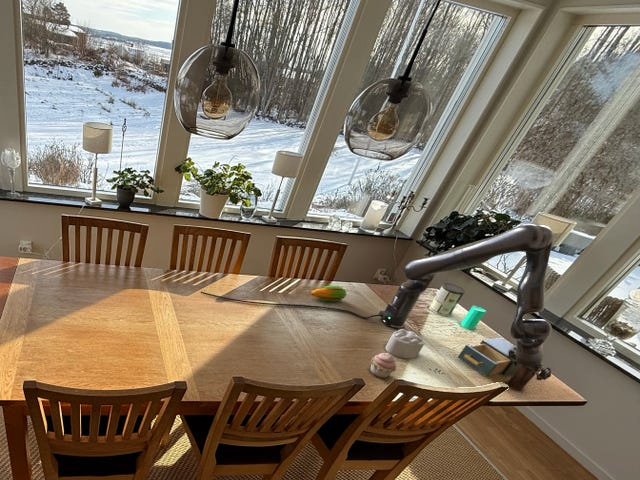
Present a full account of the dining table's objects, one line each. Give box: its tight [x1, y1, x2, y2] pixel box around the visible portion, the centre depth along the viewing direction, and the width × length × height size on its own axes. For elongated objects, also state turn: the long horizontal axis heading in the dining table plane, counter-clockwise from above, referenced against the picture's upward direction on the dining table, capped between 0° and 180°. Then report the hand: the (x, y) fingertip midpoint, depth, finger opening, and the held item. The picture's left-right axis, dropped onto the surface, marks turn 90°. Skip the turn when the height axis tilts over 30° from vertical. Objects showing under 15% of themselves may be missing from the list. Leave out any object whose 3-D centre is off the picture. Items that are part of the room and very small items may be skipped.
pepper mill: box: [506, 362, 543, 392], centre depth 158 cm, size 5×5×14 cm
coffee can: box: [428, 282, 466, 317], centre depth 207 cm, size 10×10×14 cm
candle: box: [460, 305, 487, 331], centre depth 197 cm, size 6×6×12 cm
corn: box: [310, 285, 347, 302], centre depth 203 cm, size 7×8×20 cm
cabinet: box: [479, 337, 522, 377], centre depth 172 cm, size 12×14×8 cm
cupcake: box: [370, 352, 397, 379], centre depth 155 cm, size 9×9×10 cm
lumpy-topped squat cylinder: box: [385, 328, 426, 359], centre depth 171 cm, size 10×13×9 cm
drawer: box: [457, 343, 512, 378], centre depth 168 cm, size 16×13×7 cm
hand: (528, 371), depth 158 cm, fingers open, 8 cm apart
